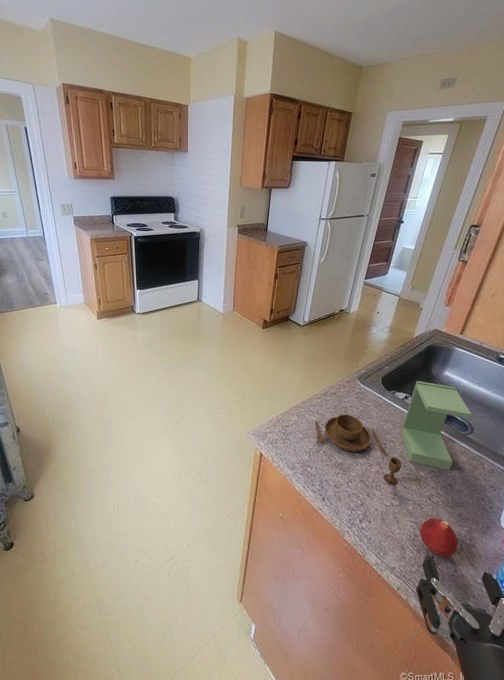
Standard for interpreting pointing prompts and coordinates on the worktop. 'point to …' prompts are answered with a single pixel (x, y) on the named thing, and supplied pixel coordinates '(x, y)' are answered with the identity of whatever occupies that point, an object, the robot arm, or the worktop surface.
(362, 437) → the place setting
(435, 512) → the worktop surface
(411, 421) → the shelf
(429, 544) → the onion
